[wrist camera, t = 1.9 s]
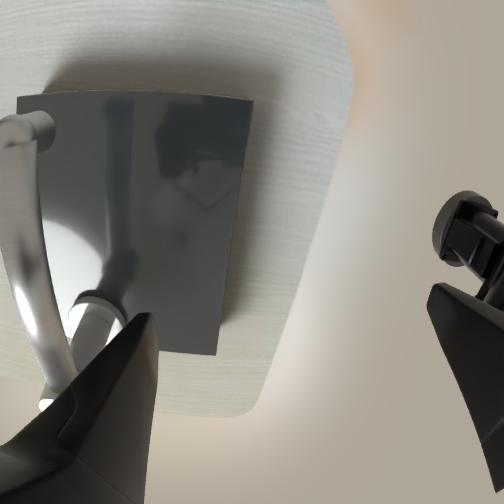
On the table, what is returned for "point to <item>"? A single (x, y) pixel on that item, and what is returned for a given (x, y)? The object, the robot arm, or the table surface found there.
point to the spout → (31, 247)
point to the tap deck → (140, 211)
